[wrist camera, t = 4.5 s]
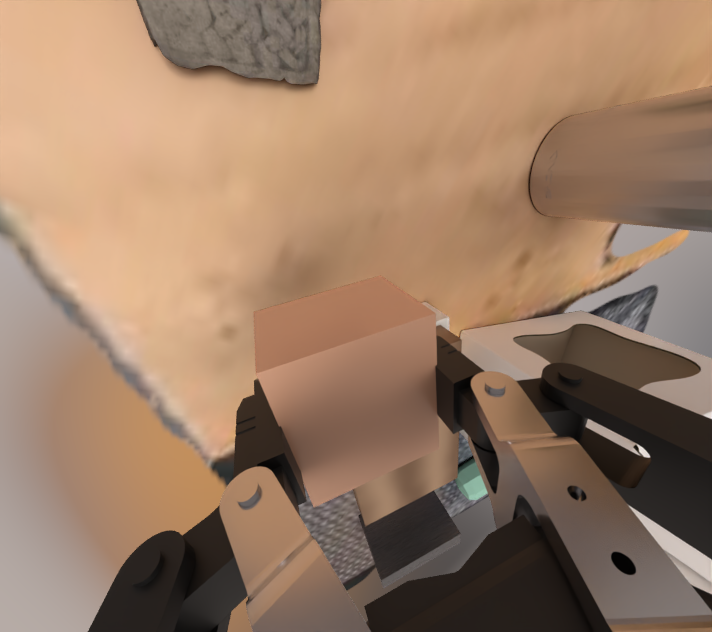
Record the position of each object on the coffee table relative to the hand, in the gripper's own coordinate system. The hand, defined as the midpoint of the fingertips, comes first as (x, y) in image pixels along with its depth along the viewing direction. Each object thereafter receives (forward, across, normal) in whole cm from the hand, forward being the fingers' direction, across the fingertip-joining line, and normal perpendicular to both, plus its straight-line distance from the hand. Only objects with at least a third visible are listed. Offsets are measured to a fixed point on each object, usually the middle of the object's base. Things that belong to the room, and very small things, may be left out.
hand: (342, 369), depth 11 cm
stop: (+14, -5, +40) cm, 43 cm away
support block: (+1, 0, 0) cm, 1 cm away
